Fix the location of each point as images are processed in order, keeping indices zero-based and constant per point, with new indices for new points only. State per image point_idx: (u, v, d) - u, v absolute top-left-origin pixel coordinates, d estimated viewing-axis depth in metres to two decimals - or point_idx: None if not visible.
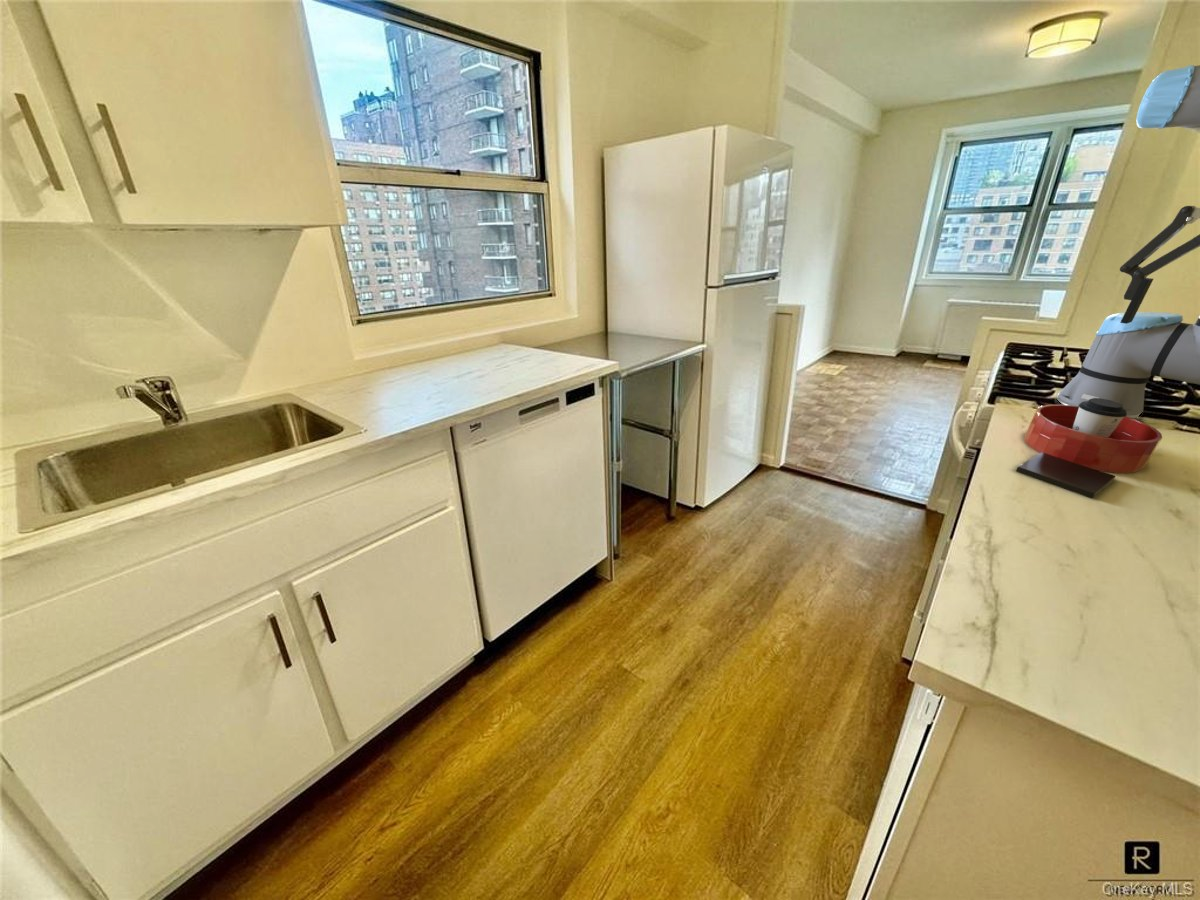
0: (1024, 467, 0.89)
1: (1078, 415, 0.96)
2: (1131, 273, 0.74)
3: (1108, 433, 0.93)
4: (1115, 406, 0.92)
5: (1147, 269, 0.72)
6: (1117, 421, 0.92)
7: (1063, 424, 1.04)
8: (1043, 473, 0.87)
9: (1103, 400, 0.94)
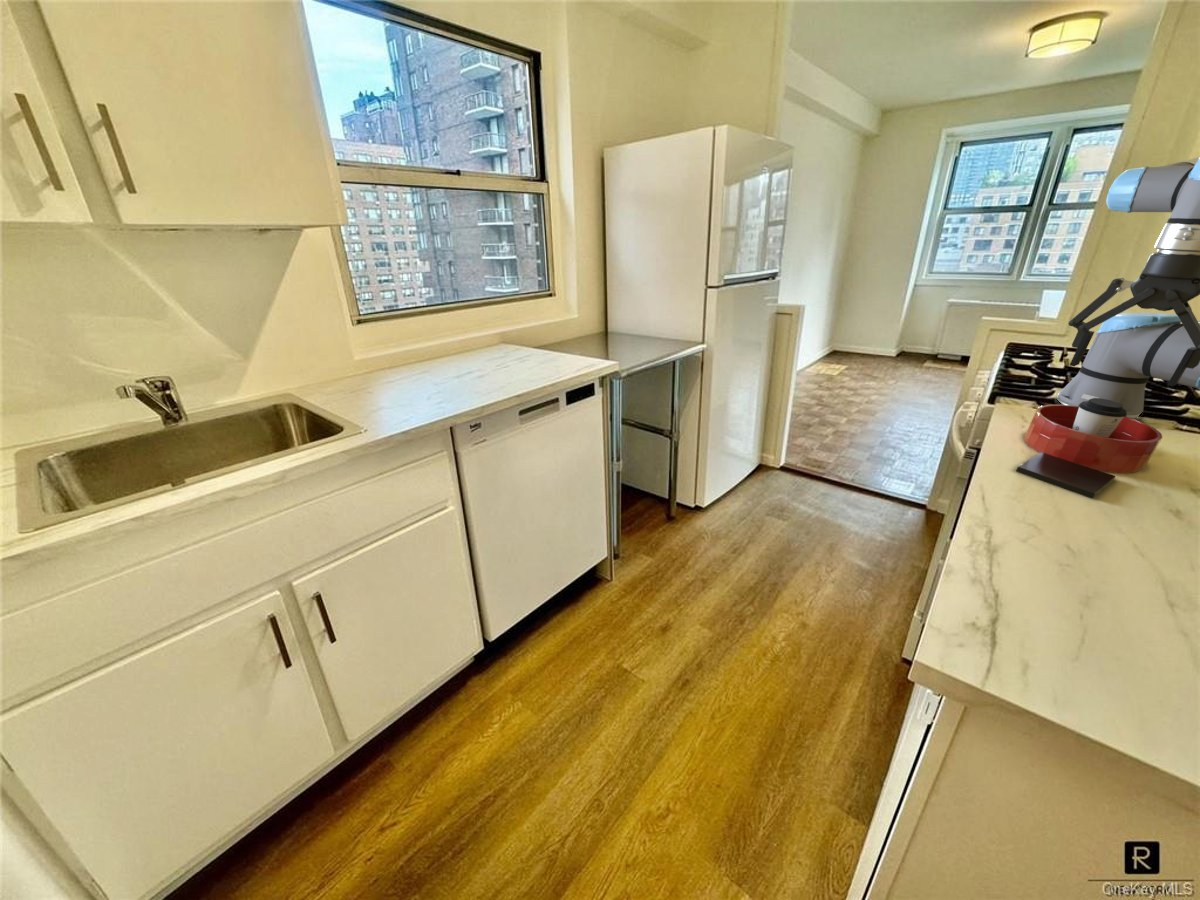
0: (1024, 467, 0.89)
1: (1078, 415, 0.96)
2: (1077, 327, 0.93)
3: (1108, 433, 0.93)
4: (1115, 406, 0.92)
5: (1088, 324, 0.92)
6: (1117, 421, 0.92)
7: (1063, 424, 1.04)
8: (1043, 473, 0.87)
9: (1103, 400, 0.94)
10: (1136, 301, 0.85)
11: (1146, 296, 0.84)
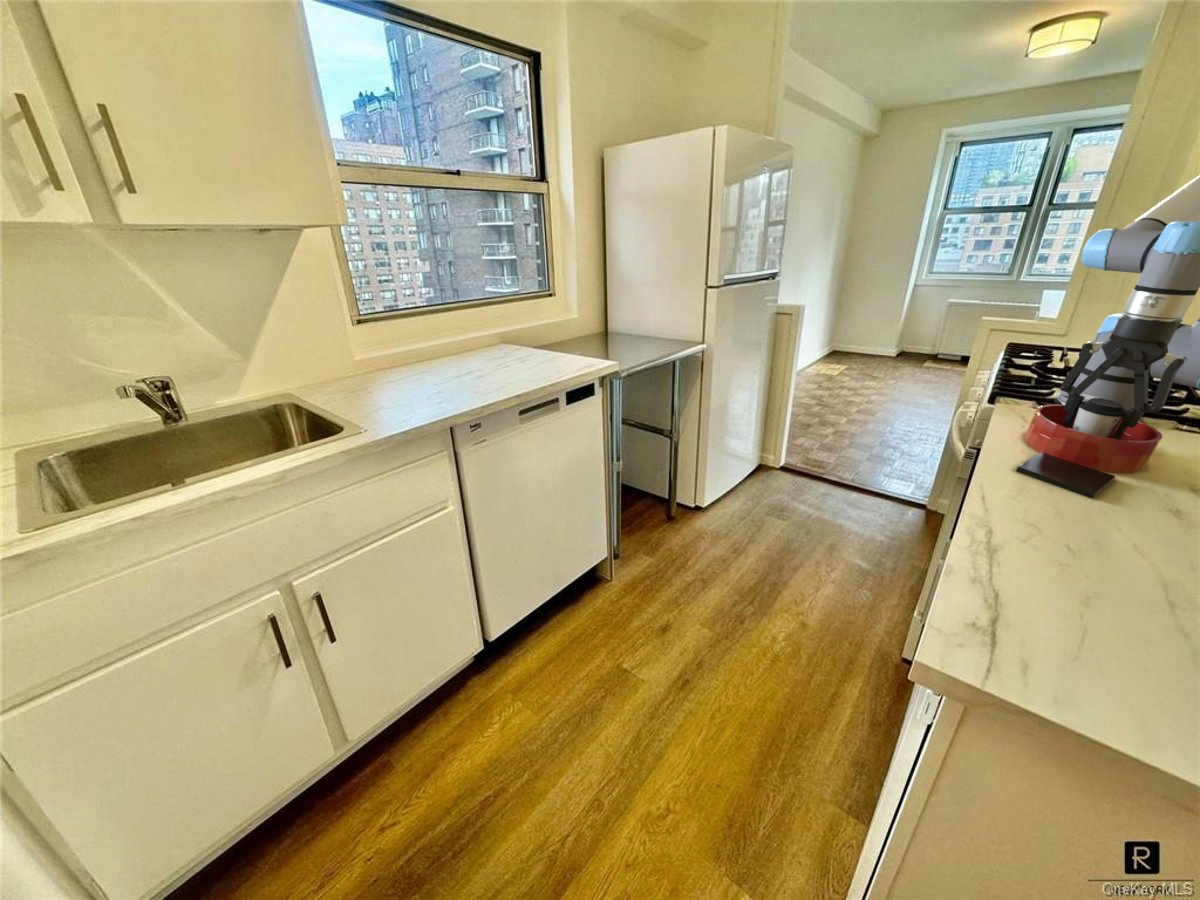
0: (1024, 467, 0.89)
1: (1078, 415, 0.96)
2: (1068, 392, 0.97)
3: (1108, 433, 0.93)
4: (1115, 406, 0.92)
5: (1077, 389, 0.95)
6: (1117, 421, 0.92)
7: None
8: (1043, 473, 0.87)
9: (1103, 400, 0.94)
10: (1111, 362, 0.90)
11: (1116, 356, 0.89)
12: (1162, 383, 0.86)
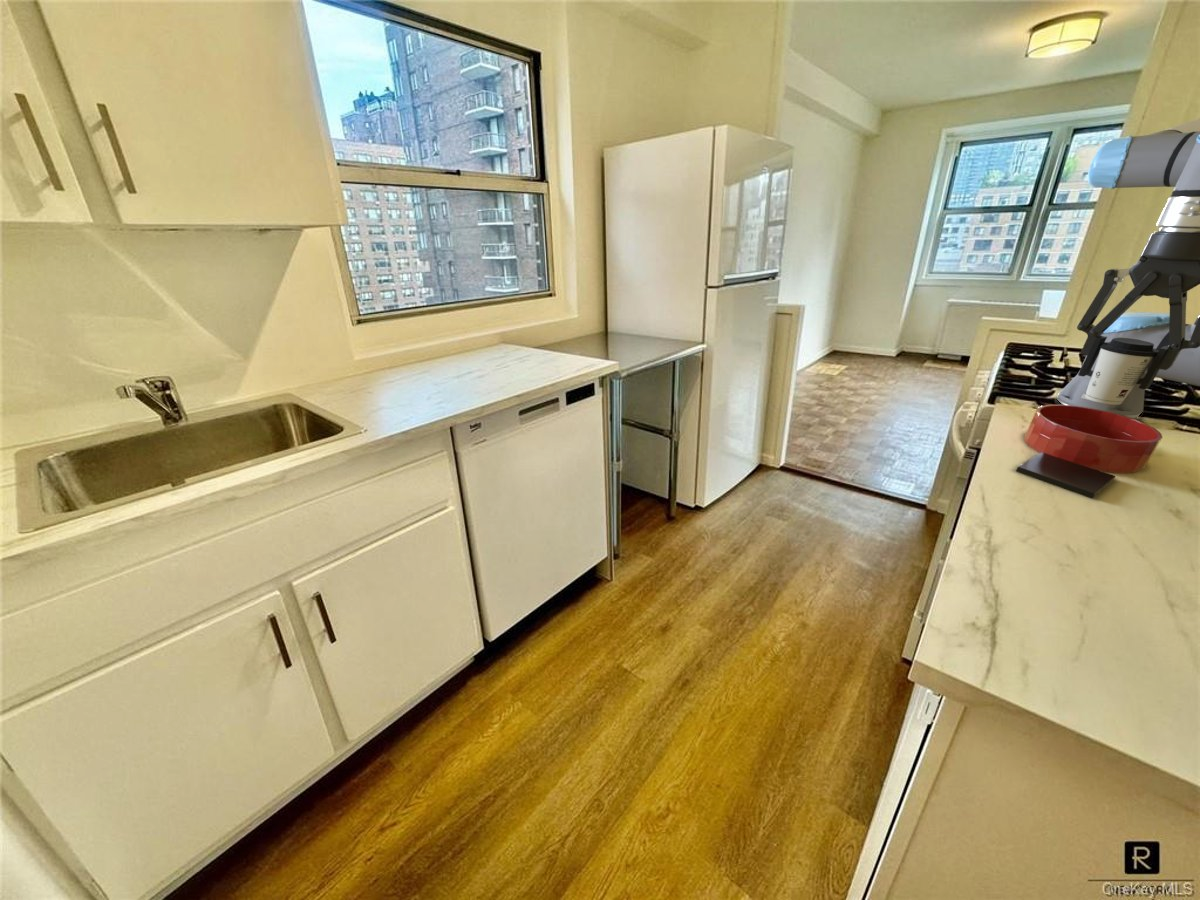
0: (1024, 467, 0.89)
1: (1099, 358, 0.80)
2: (1087, 331, 0.81)
3: (1135, 377, 0.78)
4: (1145, 344, 0.76)
5: (1098, 327, 0.80)
6: (1147, 362, 0.76)
7: (1063, 424, 1.04)
8: (1043, 473, 0.87)
9: (1129, 339, 0.79)
10: (1141, 289, 0.74)
11: (1147, 281, 0.74)
12: None
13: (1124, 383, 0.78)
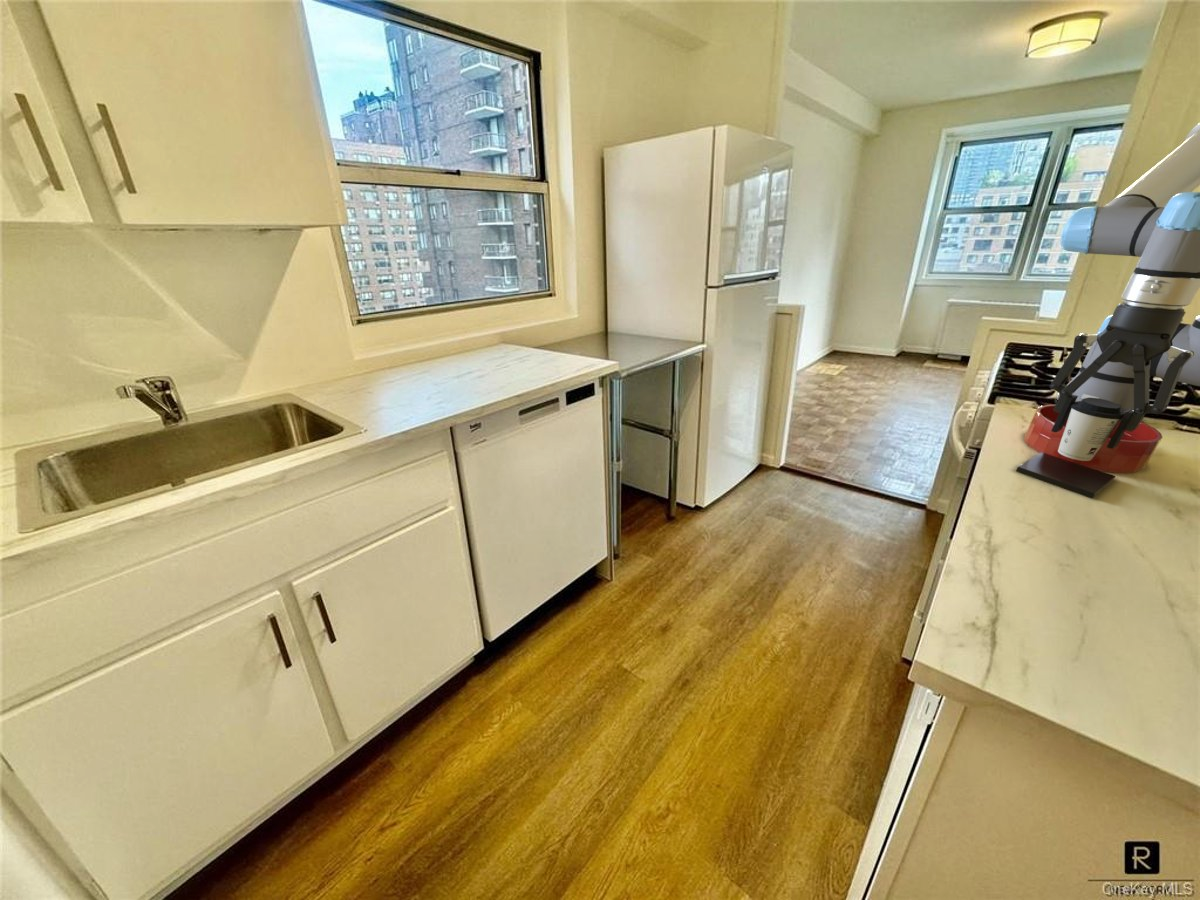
0: (1024, 467, 0.89)
1: (1070, 417, 0.85)
2: (1059, 391, 0.86)
3: (1103, 437, 0.82)
4: (1112, 407, 0.80)
5: (1069, 388, 0.84)
6: (1114, 424, 0.81)
7: None
8: (1043, 473, 0.87)
9: (1098, 400, 0.83)
10: (1107, 356, 0.79)
11: (1113, 349, 0.78)
12: (1166, 380, 0.75)
13: (1093, 441, 0.83)
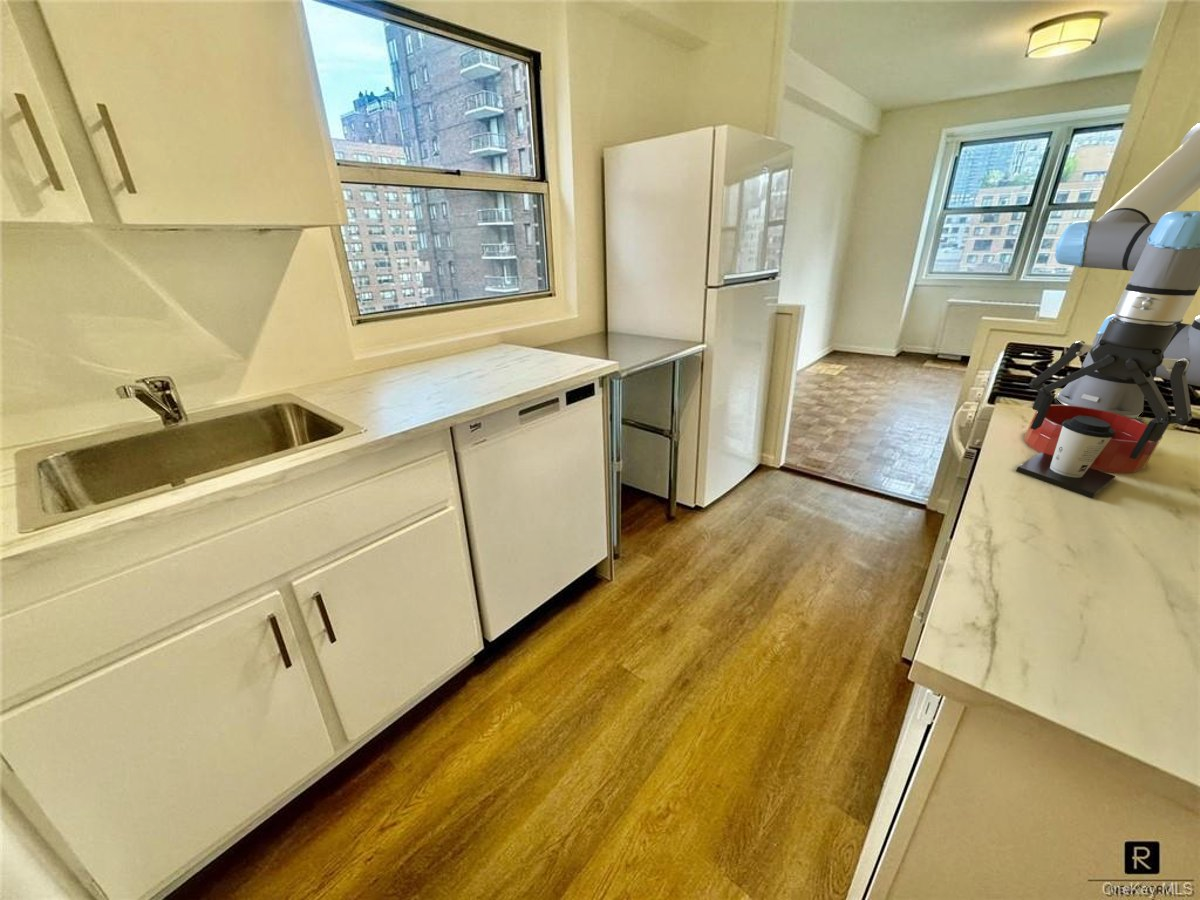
0: (1024, 467, 0.89)
1: (1061, 434, 0.86)
2: (1037, 389, 0.88)
3: (1094, 455, 0.84)
4: (1102, 425, 0.82)
5: (1048, 388, 0.87)
6: (1104, 442, 0.82)
7: None
8: (1043, 473, 0.87)
9: (1089, 418, 0.85)
10: (1096, 368, 0.80)
11: (1106, 363, 0.79)
12: (1175, 390, 0.74)
13: (1084, 459, 0.84)
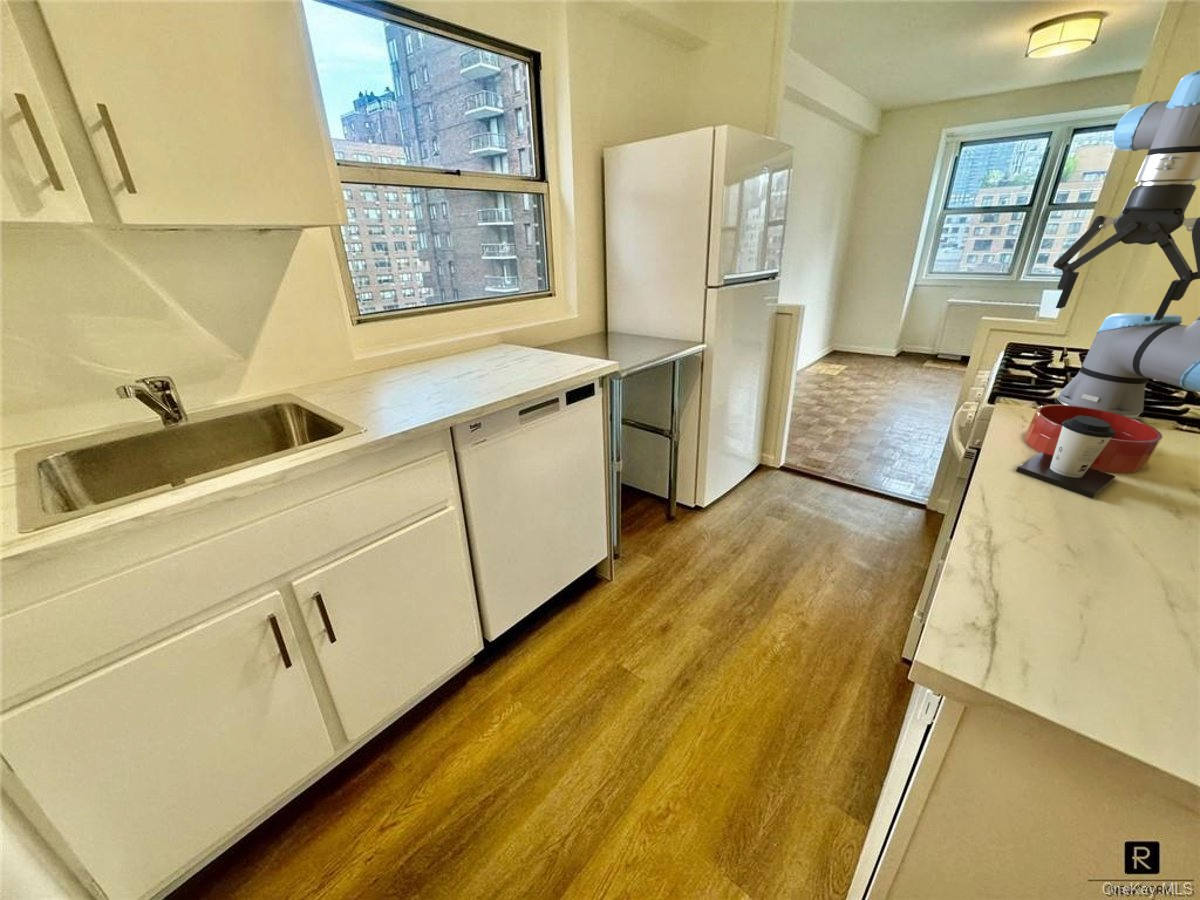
0: (1024, 467, 0.89)
1: (1061, 434, 0.86)
2: (1062, 268, 0.93)
3: (1094, 455, 0.84)
4: (1102, 425, 0.82)
5: (1073, 265, 0.91)
6: (1104, 442, 0.82)
7: None
8: (1043, 473, 0.87)
9: (1089, 418, 0.85)
10: (1119, 237, 0.85)
11: (1129, 231, 0.84)
12: (1196, 246, 0.79)
13: (1084, 459, 0.84)
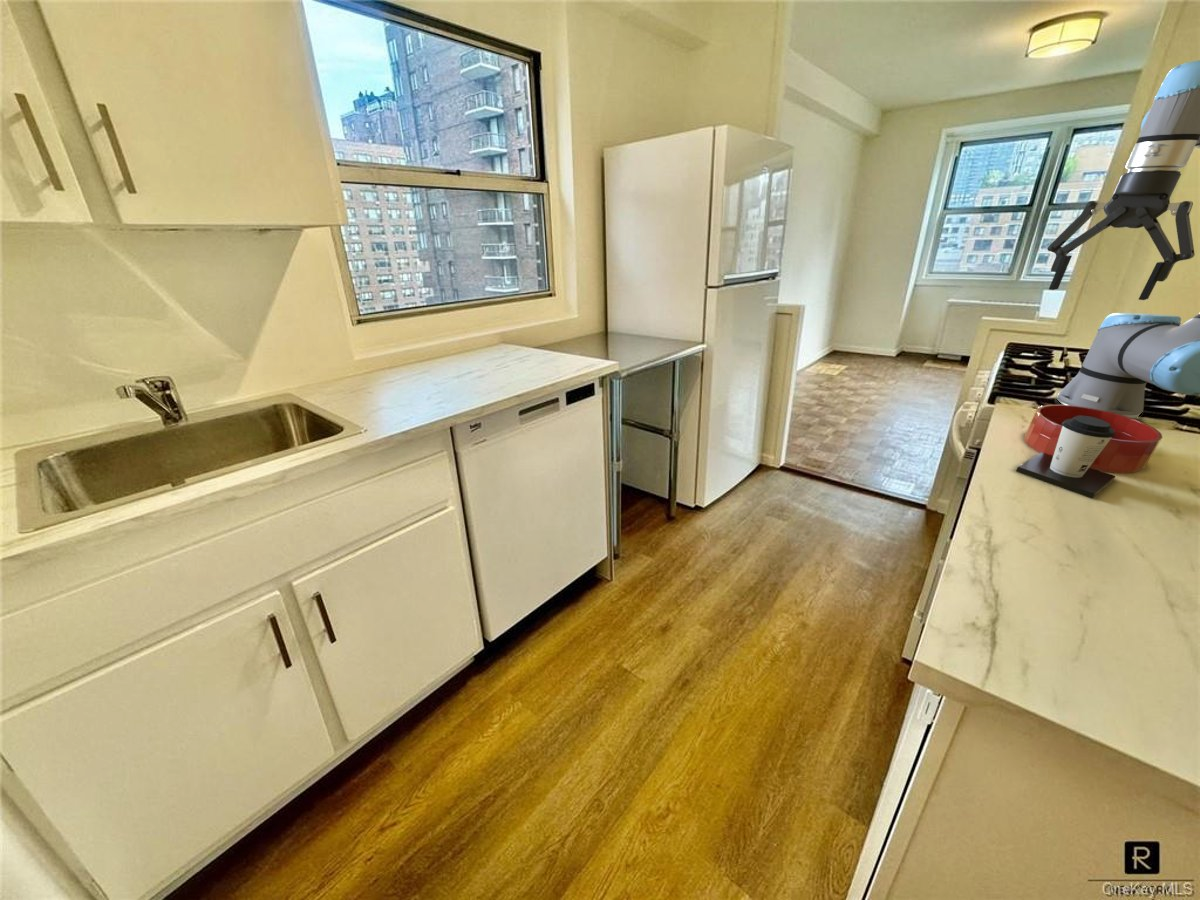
0: (1024, 467, 0.89)
1: (1061, 434, 0.86)
2: (1055, 251, 0.98)
3: (1094, 455, 0.84)
4: (1102, 425, 0.82)
5: (1065, 248, 0.97)
6: (1104, 442, 0.82)
7: None
8: (1043, 473, 0.87)
9: (1089, 418, 0.85)
10: (1109, 221, 0.91)
11: (1118, 215, 0.89)
12: (1180, 229, 0.84)
13: (1084, 459, 0.84)
